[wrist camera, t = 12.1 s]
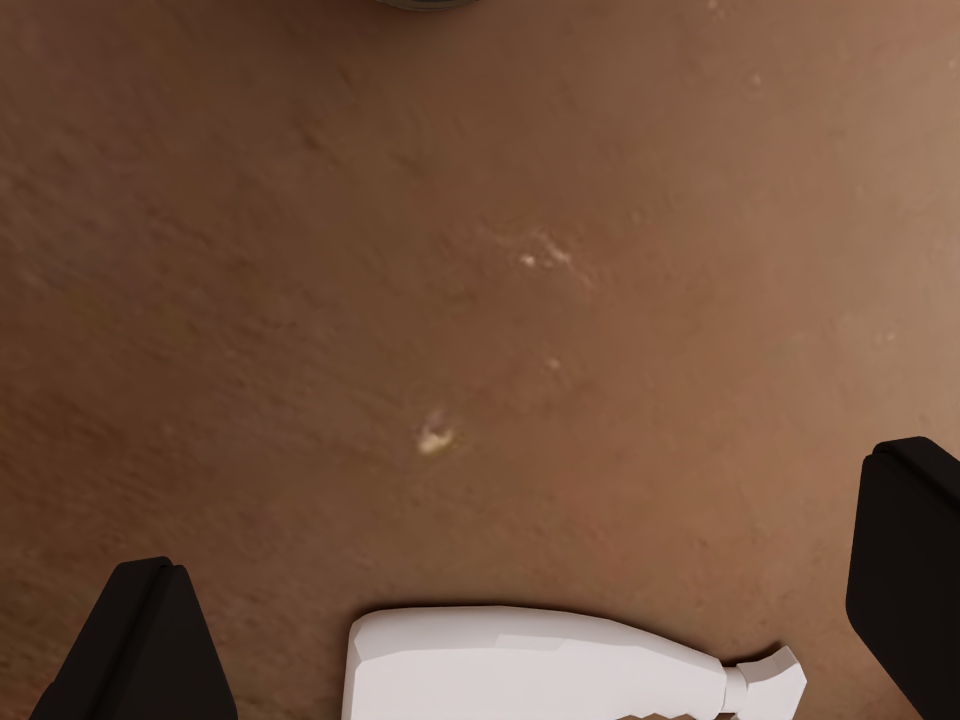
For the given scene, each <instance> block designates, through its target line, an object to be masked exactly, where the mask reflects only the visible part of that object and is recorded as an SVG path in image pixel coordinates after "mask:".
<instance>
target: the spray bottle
mask: <svg viewBox="0 0 960 720" xmlns="http://www.w3.org/2000/svg"><path fill="white" fill-rule="evenodd" d="M806 683H807V681H806V678H805V676H804V673H803V671H802V668H801V666H800V663H799V662H798V660H797V659H796V658H795V656H794V655H793V653H792V652H791V650H790V649H789V647H788V646H787V645H786V646H784V647H783V648H781V649H780V650H778V651H777V652H776V653H774V654H773V655H771V656H769V657H767V658H765V659H762V660H760V661H758V662H749V663H740V664H737V665H736V667H722V665H721V663H720V661H719V659H717V658H715V657H712V656H710V655H707V654H704V653H702V652H699V651H697V650H694V649H691V648H689V647H686V646H684V645H681V644H678V643H676V642H673V641H671V640H668V639H665V638H663V637H660V636H658V635H655V634H652V633H649V632H646V631H643V630H640V629H636V628H633V627H630V626H627V625H624V624H621V623H618V622H615V621H612V620H609V619H603V618H597V617H592V616H586V615H580V614H575V613H569V612H561V611H551V610H542V609H531V608H520V607H510V606H466V607H422V608H401V609H390V610H379V611H376V612H372V613H369V614H365V615H364V616H362V617H361V618H359V619H358V620H356V621H355V622H353V624H352V627H351V630H350V633H349V643H348V653H347V663H346V673H345V683H344V693H343V703H342V717H341V720H616V719H619V718H622V717H625V716H628V715H634V716H637V717H640V718H644V717H646V716H648V715H650V714H653V713H657V714H659V715H662V716H665V717H667V718H673V717H676V716H680V715H683V714H686V713H687V714H688V715H690V716H692V717H693V718H695V719H696V720H713V719H715V718H716V716H717V715H718V714H719V713H735V715H734V716H733V717H732V718H731V719H730V720H792V718H793V715H794V713H795V710H796V708H797V705H798V703H799V700H800V698H801V695H802V693H803V690H804V688H805V685H806Z"/></svg>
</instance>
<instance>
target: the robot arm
mask: <svg viewBox="0 0 960 720" xmlns="http://www.w3.org/2000/svg"><path fill="white" fill-rule="evenodd" d="M846 612H847V615H848V619H849V621H850V623H851V625H852V627H853V629H854V630H855V632H856V633H857V634H858V636H859V637H860V638H861V639H862V641H863V642H864V643H865V645H866V646H867V647H868V648H869V650H870V651H871V652H872V654H873V655H874V656H875V657H876V659H877V660H878V661H879V663H880V664H881V665H882V667H883V668H884V669H885V670H886V672H887V673H888V674H889V676H890V677H891V678H892V679H893V681H894V682H895V683H896V685H897V686H898V687H899V688H900V690H901V691H902V692H903V694H904V695H905V696H906V697H907V699H908V700H909V701H910V703H911V704H912V705H913V707H914V708H915V709H916V710H917V712H918V713H919V714H920V716H921V717H922V718H923V719H924V720H960V461H958V460H957V459H956V458H954V457H953V456H952V455H950V454H949V453H948V452H946V451H945V450H944V449H942V448H941V447H940V446H938V445H937V444H936V443H934V442H933V441H932V440H930V439H928V438H926V437H921V436H917V437H911V438H904V439H898V440H892V441H886V442H881V443H879V444H877V445H876V446H875V448H874V449H873V452H872V454H871V455H868V456H866V457H865V459H864V461H863V464H862V472H861V480H860V488H859V496H858V504H857V512H856V520H855V529H854V537H853V545H852V553H851V561H850V569H849V577H848V586H847V594H846ZM29 720H238V715H237V709H236V705H235V702H234V699H233V696H232V694H231V691H230V688H229V685H228V683H227V680H226V677H225V674H224V672H223V669H222V666H221V663H220V660H219V658H218V655H217V652H216V649H215V647H214V644H213V641H212V638H211V636H210V633H209V630H208V627H207V624H206V622H205V619H204V616H203V613H202V611H201V608H200V605H199V602H198V600H197V597H196V594H195V591H194V589H193V586H192V583H191V580H190V577H189V575H188V572H187V570H186V568H185V567H184V566H183V565H175V566H173V564H172V562H171V561H170V560H169V558H168V557H164V556H161V557H155V558H148V559H142V560H136V561H130V562H123V563H121V564H119V565H117V567H116V568H115V569H114V571H113V573H112V574H111V576H110V578H109V580H108V582H107V584H106V586H105V587H104V589H103V591H102V593H101V595H100V597H99V599H98V600H97V602H96V604H95V606H94V608H93V610H92V612H91V613H90V615H89V617H88V619H87V621H86V623H85V625H84V626H83V628H82V630H81V632H80V634H79V636H78V637H77V639H76V641H75V643H74V645H73V647H72V649H71V650H70V652H69V654H68V656H67V658H66V660H65V662H64V663H63V665H62V667H61V669H60V671H59V673H58V675H57V676H56V678H55V680H54V682H52V683H51V684H50V685H49V686H48V688H47V689H46V690H45V692H44V693H43V695H42V696H41V698H40V700H39V702H38V703H37V705H36V707H35V709H34V711H33V713H32V714H31V716H30V718H29Z"/></svg>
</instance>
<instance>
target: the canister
mask: <svg viewBox="0 0 960 720" xmlns="http://www.w3.org/2000/svg"><path fill="white" fill-rule="evenodd" d="M375 1H378V2H381V3H384V4H387V5H389V6H393V7H396V8H400V9H405V10H412V11H441V10H448V9H453V8H457V7H461V6H464V5H467V4H470V3H473V2H475V1H478V0H375Z"/></svg>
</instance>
